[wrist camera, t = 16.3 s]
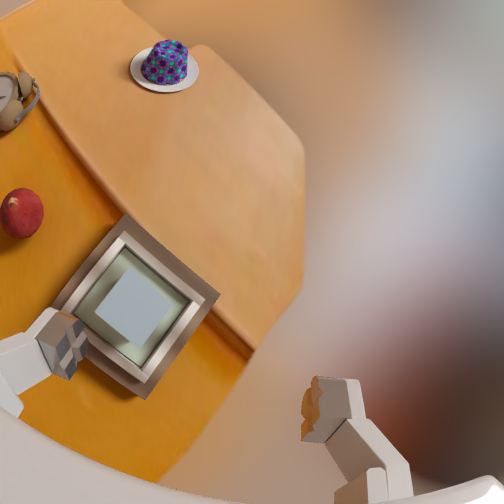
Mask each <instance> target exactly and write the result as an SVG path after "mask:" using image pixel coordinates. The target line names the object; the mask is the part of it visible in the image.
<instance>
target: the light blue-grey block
mask: <svg viewBox="0 0 504 504" xmlns="http://www.w3.org/2000/svg"><path fill="white" fill-rule="evenodd" d="M172 305H173V303H171V302H170V301H169V300H168V299H166V298H165V297H164V296H163V295H161V294H160V293H159V292H158V291H157V290H155V289H154V288H153V287H152V286H151V285H149V284H148V283H147V282H146V281H145V280H143V279H142V278H141V277H140V276H139V275H138V274H136V273H135V272H134V271H133V270H132V269H131V268H130V267H129V268H128V269H127V271H126V272H125V273H124V274H123V276H122V277H121V278H120V279H119V281H118V282H117V283H116V284H115V286H114V287H113V288H112V290H111V291H110V292H109V293H108V295H107V296H106V297H105V299H104V300H103V301H102V303H101V304H100V305H99V307H98V308H97V309H96V311H95V313H96V314H97V315H98V316H100V317H101V318H102V319H103V320H104V321H105V322H107V323H108V324H109V325H110V326H111V327H113V328H114V329H115V330H116V331H118V332H119V333H120V334H121V335H123V336H124V337H125V338H126V339H128V340H129V341H130V342H132V343H133V344H134V345H135V346H137V347H138V348H139V349H140V348H141V347H142V346H143V344H144V343H145V341H146V340H147V339H148V337H149V336H150V335H151V333H152V332H153V331H154V329H155V328H156V326H157V325H158V324H159V322H160V321H161V320H162V318H163V317H164V316H165V314H166V313H167V312H168V310H169V309H170V308H171V306H172Z"/></svg>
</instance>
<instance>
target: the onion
mask: <svg viewBox="0 0 504 504" xmlns="http://www.w3.org/2000/svg"><path fill="white" fill-rule="evenodd" d="M43 216H44V214H43V205H42V203H41V201H40V198H39V196H37V195H36V194H35V193H34V192H33V191H32V190H29V189H25V188H19V189H15V190H13V191H12V192H10V193H9V194H8V195H7V196H6V197H5V199H4V200H3V202H2V205H1V208H0V221H1V223H2V226H3V229H4V230H5V231H6V232H7V233H8V234H9V235H10V236H11V237H14V238H20V239H22V238H26V237H30V236H31V235H32V234H34V233H35V232H36V231H37V230H38V228H39V227H40V225H41V223H42V219H43Z"/></svg>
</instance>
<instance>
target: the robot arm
mask: <svg viewBox="0 0 504 504" xmlns="http://www.w3.org/2000/svg"><path fill="white" fill-rule="evenodd" d="M84 328H85V327H84V323H83V321H82V320H80V319H78V318H75V317H73V316H70V315H68V314H66V313H63V312H61V311H58V310H56V309H54V308H51V307H49V308H46V309H45V310H44V312H43V313H42V314H41V315H40V316H39V317H38V318H37V319H36V321H35V322H34V323H33V324H32V325H31V326H30V327H29V329H28V330H27V331H26V332H25V333H23V332H21V333H18V334H16V335H13V336H11V337H8V338H6V339H3V340H1V341H0V504H250V503H242V502H235V501H229V500H223V499H217V498H212V497H206V496H201V495H197V494H192V493H188V492H184V491H180V490H176V489H172V488H168V487H165V486H162V485H158V484H155V483H152V482H149V481H146V480H143V479H140V478H137V477H134V476H131V475H128V474H126V473H123V472H120V471H118V470H115V469H113V468H110V467H108V466H105V465H103V464H101V463H98V462H96V461H94V460H92V459H90V458H87V457H85V456H83V455H81V454H79V453H77V452H75V451H73V450H71V449H69V448H67V447H65V446H63V445H61V444H60V443H58V442H56V441H54V440H52V439H51V438H49V437H47V436H45V435H44V434H42V433H40V432H39V431H37V430H35V429H34V428H32V427H31V426H29V425H27V424H26V423H24V422H23V421H21V420H20V419H18V417H19V415H20V413H21V411H22V410H23V408H24V406H23V403H22V402H21V400H20V399H19V398H18V396H17V395H19V394H20V393H22V392H24V391H25V390H27V389H28V388H30V387H32V386H33V385H35V384H37V383H38V382H40V381H42V380H43V379H45V378H46V377H48V376H50V375H51V374H52V373H54V374H56V375H58V376H60V377H62V378H65V379H67V380H69V381H70V379H71V378H72V376H73V374H74V373H75V371H76V370H77V362H79V361H81V360H83V359H84V357H85V355H86V354H87V350H88V338H87V335H86V334H85V333H84V332H83V329H84ZM301 413H302V415H303V417H304V418H305V420H304V422H303V423H302V425H301V431H302V432H301V441H304V442H317V443H325V446H326V448H327V449H328V451H329V452H330V454H331V455H332V457H333V459H334V461H335V462H336V464H337V465H338V467H339V469H340V470H341V472H342V473H343V475H344V476H345V478H346V480H347V481H348V483H347V484H346V485H344V486H343V487H341V488H340V489H338V490H337V491H336V492H335V497H334V498H335V499H334V502H335V503H334V504H504V486H503V485H502V484H501V483H500V482H499V481H498V480H496V479H495V478H494V477H493V476H490V475H486V476H482V477H480V478H476V479H474V480H471V481H468V482H465V483H462V484H459V485H456V486H452V487H449V488H446V489H442V490H438V491H435V492H431V493H427V494H423V495H418V496H413V488H412V482H411V475H410V469H409V463H408V462H407V461H406V460H405V459H404V458H403V457H402V456H401V454H400V453H399V452H398V451H397V450H396V449H395V448H394V447H393V445H392V444H391V443H390V442H389V441H388V440H387V439H386V437H385V436H384V435H383V434H382V433H381V432H380V431H379V429H378V428H377V427H376V426H375V425H374V424H373V423H372V421H371V420H370V419H366V417H365V410H364V404H363V399H362V393H361V387H360V383H359V381H358V380H354V379H343V378H333V377H324V376H315V377H314V378H313V379H312V381H311V388H309V389H307V391H306V392H305V394H304V397H303V401H302V410H301Z"/></svg>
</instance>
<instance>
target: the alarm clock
mask: <svg viewBox="0 0 504 504" xmlns="http://www.w3.org/2000/svg"><path fill="white" fill-rule="evenodd" d="M31 78H32V77H30V75H29V74H28V73H26V72H21V73H18V79H19V82H18V79H17V77H16V76H15V75H14V74H13V73H10V72H1V73H0V131H1V130H5V131H9V130H12V129H14V128H15V127H16V126H17V125H18V124H19V122H20V121H21V119H22V117H23V116H24V115H25V114H27V113H28V112H29V111H31V110H32V109H33V107H34V106H35V105H36V103H37V101H38V99H39V96H40V90H39V87H38V85H37V83H35V82H34V81H35V78H33V79H31ZM32 82H33V83H32ZM19 84H20V85H19ZM33 85H34V86H35V87H36V88H37V93H36V96H35V98H34V100H33V101H32V103H31V104H30V105H29V106H28V107H27V108H26V109H24V110H23V105H22V104H21V102H22V100H23V97H24V99H26V98H27V97H29V95H30V94H31V92H32V88H33ZM22 94H23V95H22Z"/></svg>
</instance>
